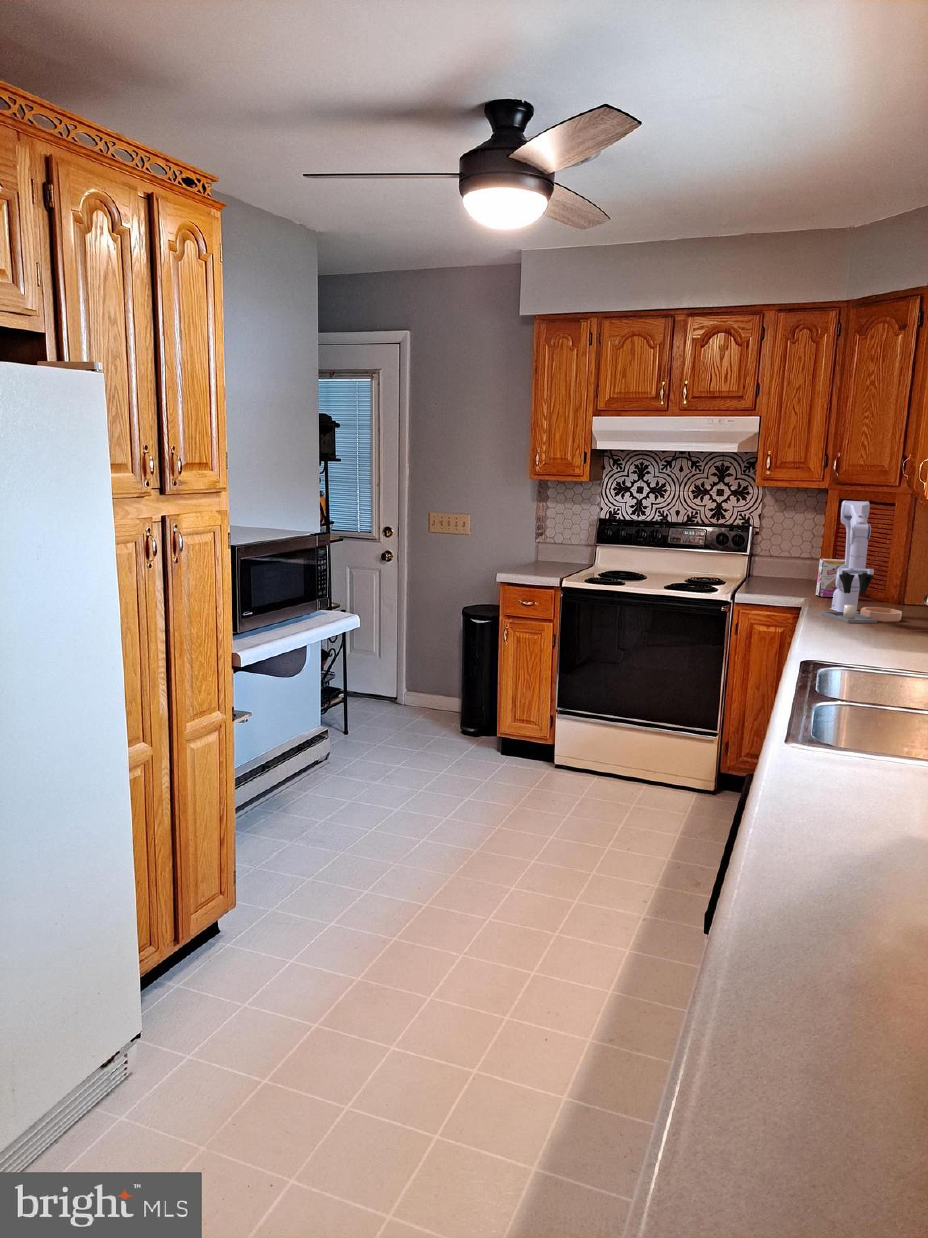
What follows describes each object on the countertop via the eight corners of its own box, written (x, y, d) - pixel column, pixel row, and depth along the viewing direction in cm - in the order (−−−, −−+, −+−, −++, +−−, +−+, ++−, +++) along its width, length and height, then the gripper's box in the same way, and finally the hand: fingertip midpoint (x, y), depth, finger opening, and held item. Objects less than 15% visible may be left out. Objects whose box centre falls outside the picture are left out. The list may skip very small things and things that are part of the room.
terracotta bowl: (853, 616, 338) (854, 607, 337) (884, 615, 340) (885, 606, 340) (875, 623, 325) (876, 613, 324) (908, 622, 328) (909, 613, 327)
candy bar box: (818, 597, 381) (822, 559, 378) (815, 595, 386) (819, 558, 383) (845, 598, 380) (849, 560, 377) (841, 596, 385) (845, 559, 382)
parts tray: (821, 616, 336) (821, 611, 335) (849, 616, 338) (850, 611, 338) (847, 624, 320) (847, 619, 320) (876, 624, 322) (877, 619, 322)
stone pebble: (840, 617, 330) (842, 604, 329) (850, 617, 331) (851, 604, 330) (847, 619, 327) (848, 606, 326) (856, 619, 327) (858, 606, 326)
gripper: (834, 556, 331) (831, 592, 332) (864, 555, 318) (860, 593, 318) (849, 557, 334) (846, 593, 334) (879, 557, 320) (876, 594, 321)
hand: (854, 593), depth 326 cm, fingers open, 7 cm apart
